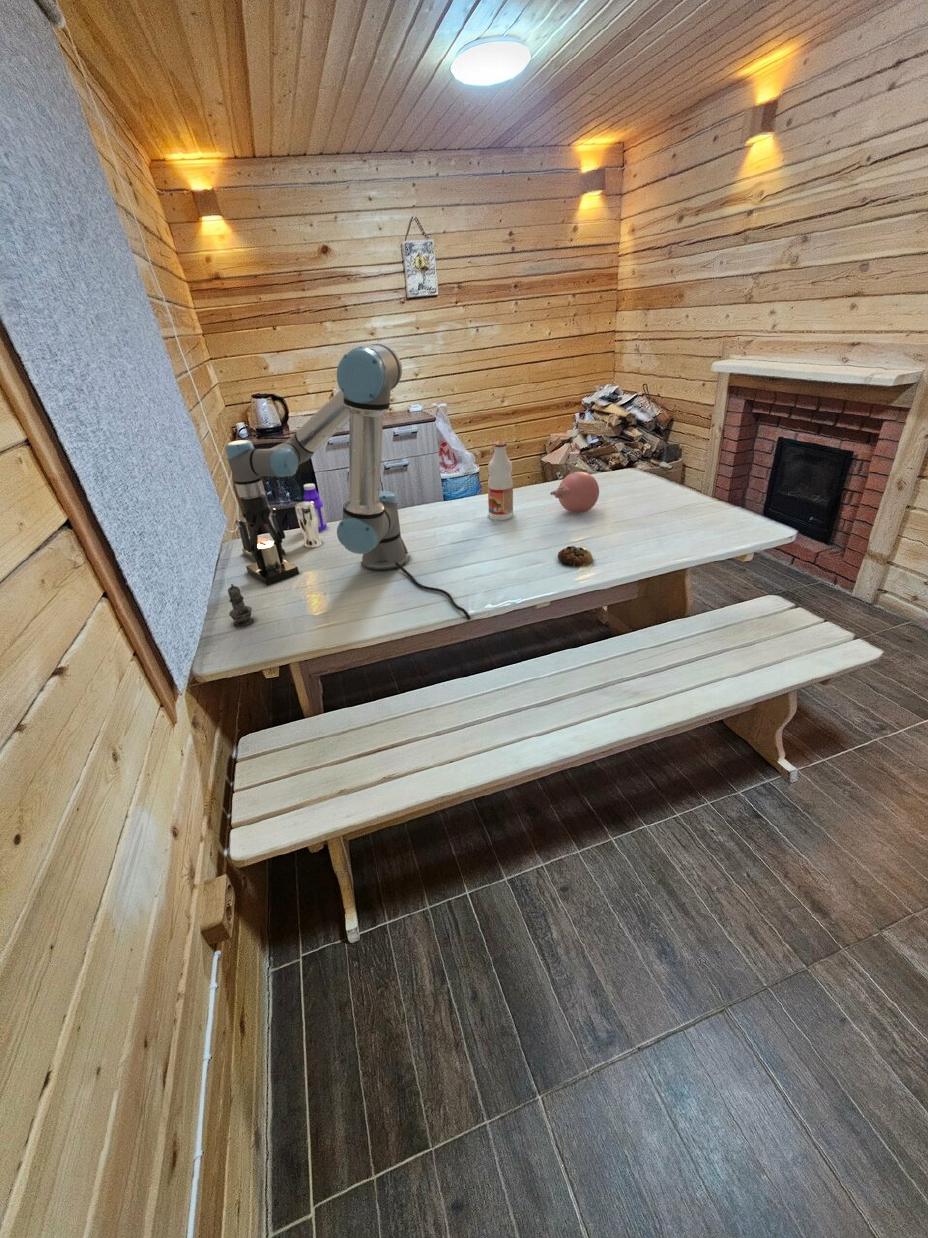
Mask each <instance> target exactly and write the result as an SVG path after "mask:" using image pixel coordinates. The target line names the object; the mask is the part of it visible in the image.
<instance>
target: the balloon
mask: <svg viewBox="0 0 928 1238" xmlns="http://www.w3.org/2000/svg"><path fill="white" fill-rule="evenodd" d="M550 495H551V496H554V498H556V499H558V501H559V503H560V505H561V507H563V508H564V509H565V510H566V511H567V512H569V513H573V514H581V513H586V512H588V511H590V510H591V509H592V508H593V507H595V505H596V503H597V501H598V500H599V497H600V487H599V483H598V481H597V480H596V479H595V477H594V476H593V475H592V474H590V473H588V472H585V471H574V472H571V473H569V474H568V475H566V476H565V477H564V478H563V479H562V480H561V481H560V483H559V485H558V487H557V488H556V489H555V490H553V491H550Z"/></svg>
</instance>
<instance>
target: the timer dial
mask: <svg viewBox="0 0 928 1238" xmlns="http://www.w3.org/2000/svg"><path fill="white" fill-rule="evenodd" d="M257 550H259V551H260V552H261V556H262V560H263V563H264V567H265V570H273V569H276V568H278V567H280V566H281V563H280V559H279V555H278V551H277V547H276V543H275V541H274V540H272V541H265V542H260V543H259V544H257Z"/></svg>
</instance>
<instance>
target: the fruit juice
mask: <svg viewBox="0 0 928 1238" xmlns="http://www.w3.org/2000/svg"><path fill="white" fill-rule="evenodd" d="M507 445H508V444H507V441H503V440H499V441H498V440H497V441H494V442H493V443H492V447H493V448H492V449H493V454H492V457H491V459H490V460H489V462H488V464H487V471H488V474H489V475H488V479H487V480H488V481H487V499H488V501H487V502H488V503H487V504H488V517H489V518H490V519H491V520H493V521H506V520H507V521H508V520H509V519H511V518H513V515H514V479H513V476H512V473H513V462H512V461H511V459H509V457H508V454H507Z"/></svg>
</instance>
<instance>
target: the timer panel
mask: <svg viewBox="0 0 928 1238" xmlns="http://www.w3.org/2000/svg"><path fill="white" fill-rule="evenodd" d="M280 563H281V562H280ZM245 567H246V571H247V574H249V575H250V576H252V577H253V578H255V579H256V580H258V581H259V582H260V583H262V584H263V585H265V586H266V587H267V586H271V585H273V584H276V583H278V582H281V581H285V580H286V579H290V578H292V577H294V576H297V575H299V574H300V571H299V568H298V566H297V565H295V564H293V563H291V562H290V561H288V560H286V559H285V558H283V562H282V563H281V566H280V567H278V568H276V569H273V570H261V569H258V565H257V562H253V563H251V564H248V565H245Z"/></svg>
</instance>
